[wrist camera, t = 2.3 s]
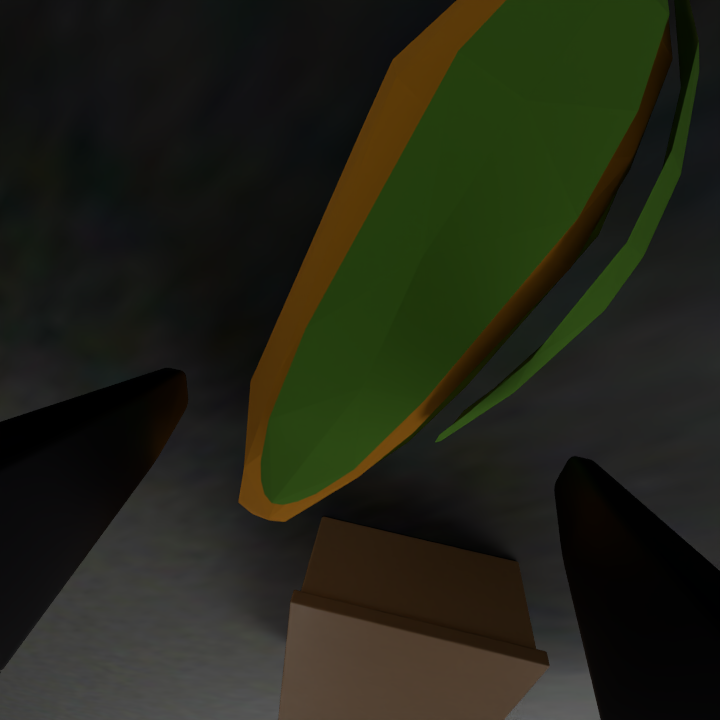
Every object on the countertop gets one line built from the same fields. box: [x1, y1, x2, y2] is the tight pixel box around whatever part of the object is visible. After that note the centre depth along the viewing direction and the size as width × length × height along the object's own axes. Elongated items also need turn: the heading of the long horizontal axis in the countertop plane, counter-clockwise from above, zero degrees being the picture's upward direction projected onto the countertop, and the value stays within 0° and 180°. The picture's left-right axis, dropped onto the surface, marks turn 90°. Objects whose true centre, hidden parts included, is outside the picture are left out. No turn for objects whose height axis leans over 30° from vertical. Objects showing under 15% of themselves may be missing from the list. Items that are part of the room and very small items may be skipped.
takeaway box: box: [278, 517, 549, 720], centre depth 24 cm, size 17×12×5 cm
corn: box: [239, 0, 699, 522], centre depth 12 cm, size 7×8×20 cm
